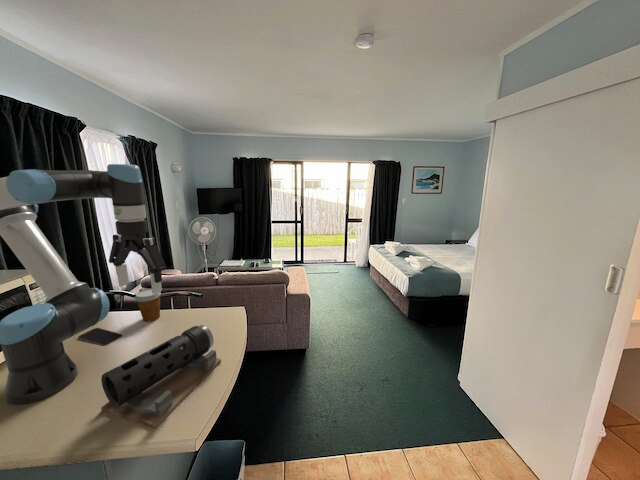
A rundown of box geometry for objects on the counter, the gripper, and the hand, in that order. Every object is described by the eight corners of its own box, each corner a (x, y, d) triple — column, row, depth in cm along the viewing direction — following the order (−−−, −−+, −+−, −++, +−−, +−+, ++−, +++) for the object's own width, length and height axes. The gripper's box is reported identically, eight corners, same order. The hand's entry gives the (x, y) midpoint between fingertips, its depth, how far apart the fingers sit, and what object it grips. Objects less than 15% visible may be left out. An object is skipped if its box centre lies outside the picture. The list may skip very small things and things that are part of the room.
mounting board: (101, 410, 73) (97, 393, 72) (177, 352, 97) (175, 338, 96) (155, 428, 68) (152, 409, 67) (221, 361, 92) (219, 347, 91)
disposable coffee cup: (157, 310, 127) (154, 286, 124) (168, 316, 122) (164, 291, 119) (134, 319, 119) (130, 293, 117) (144, 326, 114) (140, 299, 111)
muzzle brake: (105, 401, 73) (97, 367, 71) (198, 346, 96) (195, 319, 94) (123, 417, 68) (116, 381, 66) (216, 355, 92) (214, 327, 89)
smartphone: (104, 345, 101) (76, 337, 105) (105, 348, 101) (76, 339, 105) (124, 334, 107) (96, 327, 112) (124, 337, 108) (97, 329, 112)
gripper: (86, 218, 80) (98, 286, 85) (152, 225, 72) (161, 300, 77) (113, 214, 87) (122, 278, 92) (175, 221, 79) (182, 290, 84)
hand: (140, 288), depth 84 cm, fingers open, 13 cm apart
